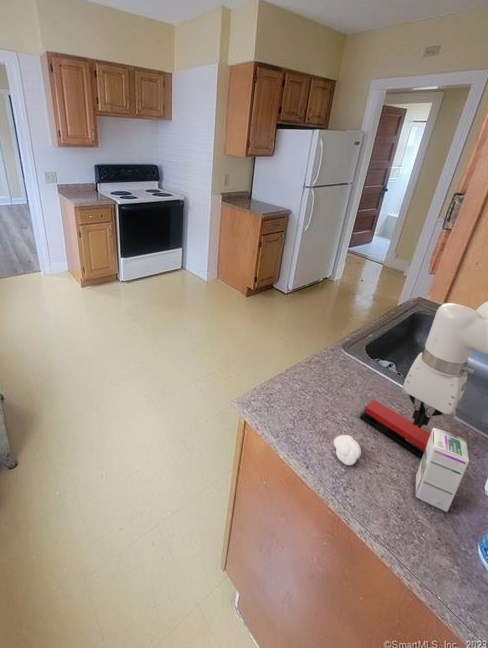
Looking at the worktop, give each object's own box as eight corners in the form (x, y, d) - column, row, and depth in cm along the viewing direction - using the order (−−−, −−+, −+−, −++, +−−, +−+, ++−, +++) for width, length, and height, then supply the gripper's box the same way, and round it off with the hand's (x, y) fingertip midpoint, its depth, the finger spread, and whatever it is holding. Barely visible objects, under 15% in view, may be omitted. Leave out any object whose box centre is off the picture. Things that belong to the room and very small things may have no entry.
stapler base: (434, 451, 77) (437, 445, 76) (426, 463, 74) (429, 456, 73) (368, 409, 88) (370, 403, 88) (359, 418, 86) (361, 412, 85)
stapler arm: (435, 443, 76) (437, 437, 75) (427, 453, 73) (430, 447, 73) (371, 404, 87) (373, 398, 86) (363, 411, 84) (365, 406, 84)
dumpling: (364, 466, 73) (366, 457, 71) (342, 471, 73) (344, 462, 71) (348, 436, 79) (350, 427, 77) (328, 441, 79) (329, 432, 76)
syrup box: (448, 513, 64) (472, 461, 58) (413, 497, 67) (433, 446, 61) (446, 489, 68) (468, 439, 63) (413, 474, 71) (432, 425, 66)
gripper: (491, 371, 66) (461, 437, 72) (412, 337, 77) (393, 397, 83) (480, 387, 61) (450, 455, 68) (398, 348, 72) (379, 410, 79)
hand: (418, 423), depth 76 cm, fingers closed
